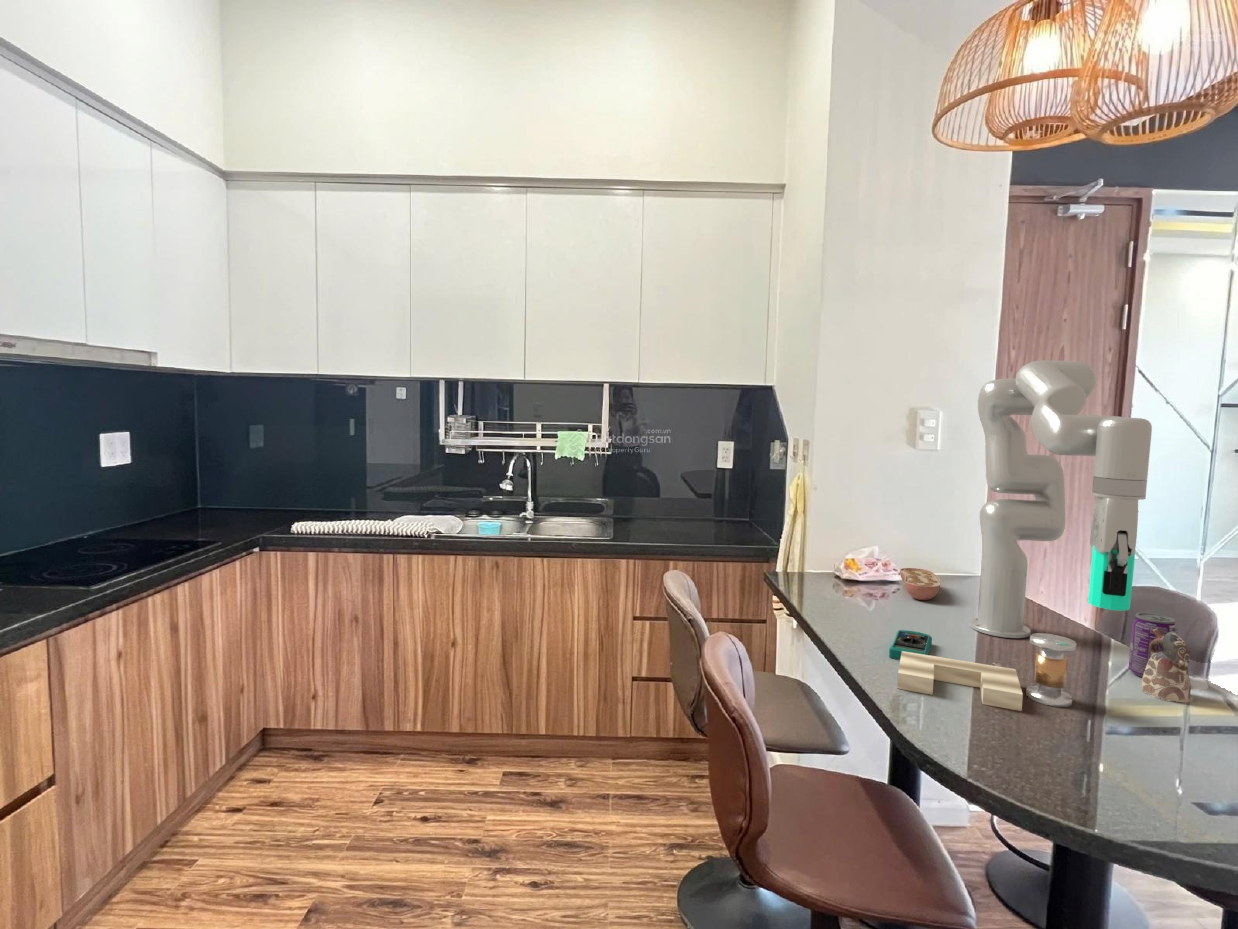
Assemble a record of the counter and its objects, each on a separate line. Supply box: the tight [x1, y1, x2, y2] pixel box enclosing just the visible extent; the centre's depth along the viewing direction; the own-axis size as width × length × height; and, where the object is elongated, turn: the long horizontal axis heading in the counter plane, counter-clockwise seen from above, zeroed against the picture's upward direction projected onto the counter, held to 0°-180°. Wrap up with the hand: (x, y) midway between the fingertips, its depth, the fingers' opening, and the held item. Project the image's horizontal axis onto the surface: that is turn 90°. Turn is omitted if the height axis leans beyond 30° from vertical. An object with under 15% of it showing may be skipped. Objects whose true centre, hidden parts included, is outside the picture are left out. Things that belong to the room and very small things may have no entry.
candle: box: [1087, 545, 1136, 612], centre depth 117 cm, size 6×6×12 cm
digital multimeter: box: [888, 629, 933, 661], centre depth 144 cm, size 7×15×3 cm, turn 151°
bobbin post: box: [1025, 632, 1077, 708], centre depth 120 cm, size 7×7×11 cm
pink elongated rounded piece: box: [899, 567, 941, 601], centre depth 193 cm, size 23×10×5 cm, turn 162°
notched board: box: [896, 651, 1024, 712], centre depth 125 cm, size 13×20×3 cm, turn 64°
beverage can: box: [1127, 612, 1179, 678], centre depth 132 cm, size 7×7×12 cm
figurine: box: [1141, 628, 1192, 703], centre depth 123 cm, size 7×7×12 cm
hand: (1109, 589), depth 118 cm, fingers closed on candle, 4 cm apart
